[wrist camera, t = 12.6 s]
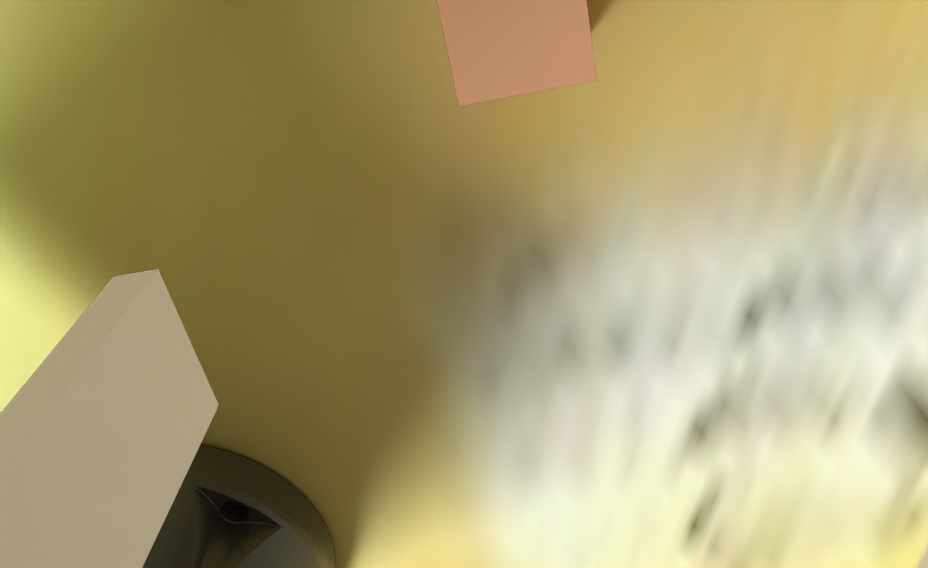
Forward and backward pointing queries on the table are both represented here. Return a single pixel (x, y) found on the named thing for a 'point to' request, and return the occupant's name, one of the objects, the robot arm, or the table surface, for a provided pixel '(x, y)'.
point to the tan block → (516, 46)
